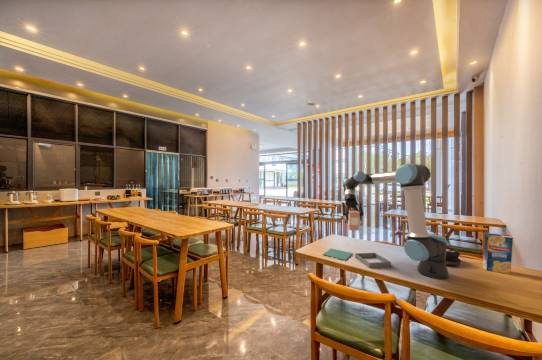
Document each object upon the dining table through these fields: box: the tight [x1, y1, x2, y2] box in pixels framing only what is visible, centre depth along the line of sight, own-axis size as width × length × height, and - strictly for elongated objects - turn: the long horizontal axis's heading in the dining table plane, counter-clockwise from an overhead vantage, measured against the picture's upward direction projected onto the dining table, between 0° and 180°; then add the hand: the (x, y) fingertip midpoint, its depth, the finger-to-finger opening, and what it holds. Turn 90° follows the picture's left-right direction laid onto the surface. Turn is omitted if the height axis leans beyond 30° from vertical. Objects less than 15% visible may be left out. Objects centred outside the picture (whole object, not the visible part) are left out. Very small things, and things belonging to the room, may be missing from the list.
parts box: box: [347, 210, 360, 231], centre depth 159 cm, size 6×6×12 cm
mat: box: [322, 248, 353, 262], centre depth 166 cm, size 16×16×1 cm
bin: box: [354, 252, 392, 269], centre depth 153 cm, size 17×15×3 cm
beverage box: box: [482, 232, 514, 275], centre depth 145 cm, size 7×11×22 cm, turn 62°
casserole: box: [445, 245, 462, 266], centre depth 160 cm, size 25×19×8 cm
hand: (354, 224), depth 156 cm, fingers closed on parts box, 6 cm apart
